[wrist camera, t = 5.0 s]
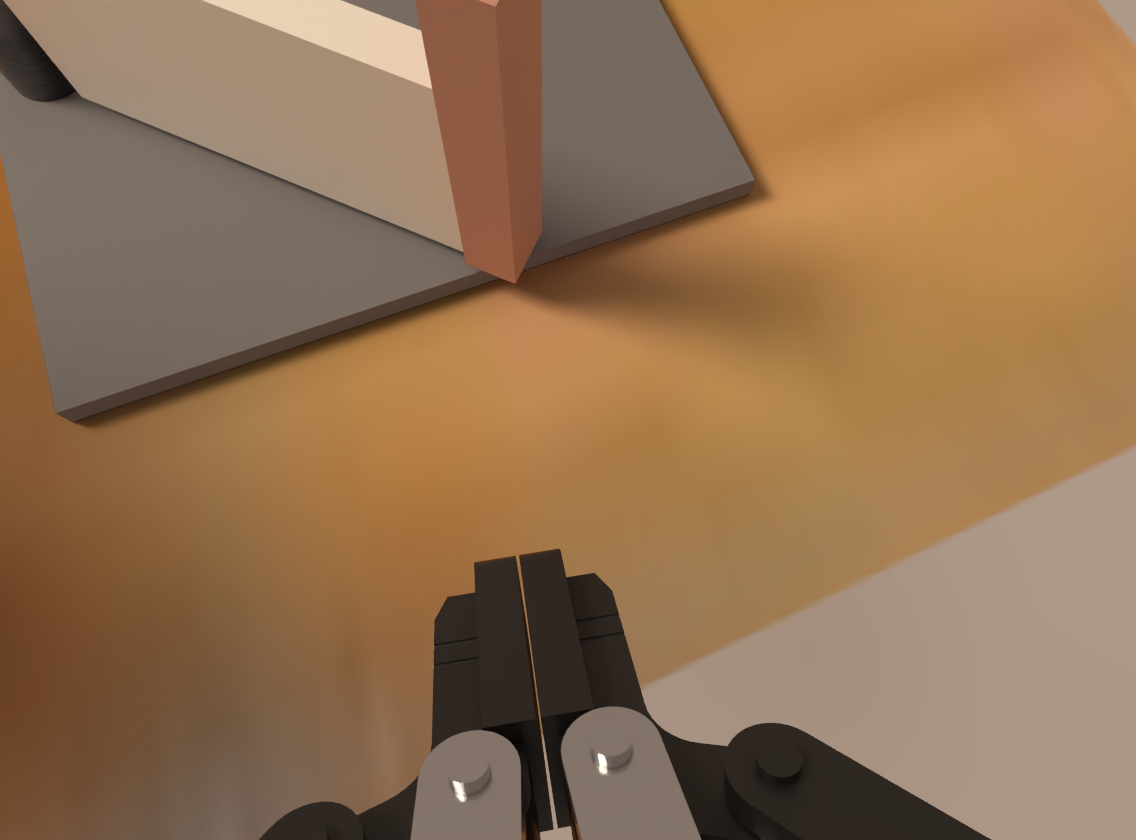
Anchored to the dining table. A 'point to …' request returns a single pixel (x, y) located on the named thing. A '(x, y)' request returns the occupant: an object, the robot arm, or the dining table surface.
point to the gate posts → (28, 62)
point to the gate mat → (324, 213)
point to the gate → (336, 101)
